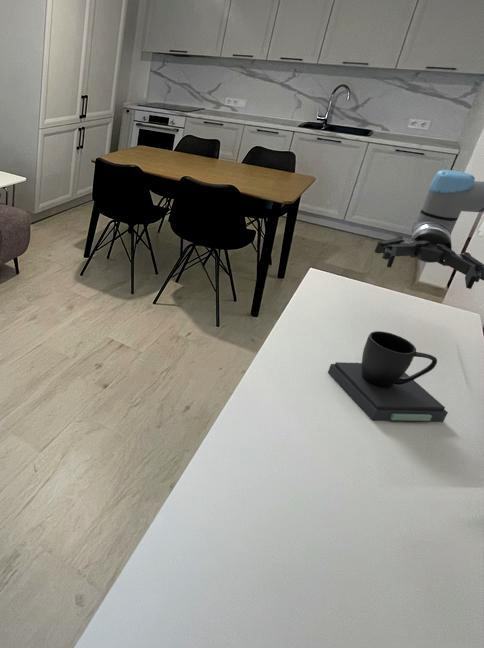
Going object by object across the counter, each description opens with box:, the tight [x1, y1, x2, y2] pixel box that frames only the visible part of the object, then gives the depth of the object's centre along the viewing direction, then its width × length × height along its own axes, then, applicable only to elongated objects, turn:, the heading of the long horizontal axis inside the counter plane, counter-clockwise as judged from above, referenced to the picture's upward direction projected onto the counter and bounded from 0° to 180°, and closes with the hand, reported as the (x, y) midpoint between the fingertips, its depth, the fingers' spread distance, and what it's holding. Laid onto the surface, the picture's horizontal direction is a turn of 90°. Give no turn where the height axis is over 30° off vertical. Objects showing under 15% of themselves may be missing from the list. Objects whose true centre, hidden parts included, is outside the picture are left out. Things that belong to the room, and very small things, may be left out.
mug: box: [361, 330, 438, 388], centre depth 102 cm, size 8×12×10 cm
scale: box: [327, 361, 449, 423], centre depth 104 cm, size 16×15×3 cm
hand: (429, 271), depth 102 cm, fingers open, 13 cm apart
